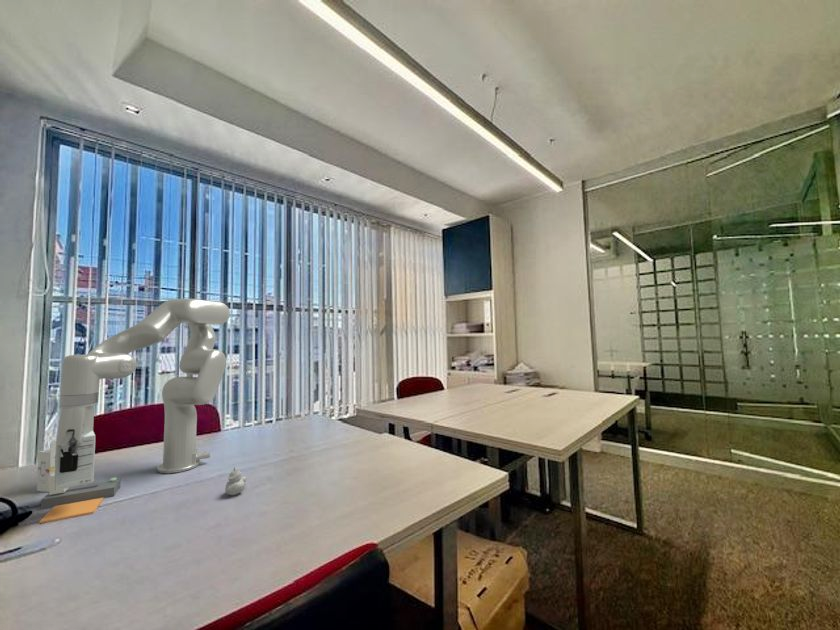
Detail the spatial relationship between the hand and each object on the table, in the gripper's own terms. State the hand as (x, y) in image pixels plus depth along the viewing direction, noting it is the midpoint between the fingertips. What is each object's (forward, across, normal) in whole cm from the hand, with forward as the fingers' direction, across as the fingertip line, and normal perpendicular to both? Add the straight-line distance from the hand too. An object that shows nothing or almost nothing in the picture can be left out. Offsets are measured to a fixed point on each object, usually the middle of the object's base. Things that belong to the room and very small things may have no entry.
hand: (75, 465), depth 92 cm
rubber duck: (+12, +10, +38) cm, 41 cm away
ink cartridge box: (+12, -23, -10) cm, 28 cm away
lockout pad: (+12, 0, 0) cm, 12 cm away
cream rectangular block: (+9, -9, -5) cm, 14 cm away
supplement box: (+5, 0, 0) cm, 5 cm away
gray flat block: (+12, -9, 0) cm, 15 cm away
